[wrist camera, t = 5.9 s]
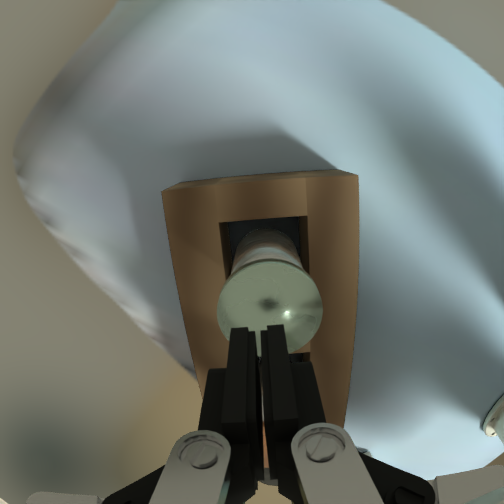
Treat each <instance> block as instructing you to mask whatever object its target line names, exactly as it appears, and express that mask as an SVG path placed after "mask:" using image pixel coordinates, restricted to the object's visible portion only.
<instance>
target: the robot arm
mask: <svg viewBox="0 0 504 504" xmlns="http://www.w3.org/2000/svg"><path fill="white" fill-rule="evenodd" d="M260 335H261V360H262V387H263V413H264V427H265V436H266V446H267V455H268V464H269V473H270V480H277V479H278V489H279V490H278V491H279V493H280V494H282V495H283V496H285V497H286V498H288V499H290V500H291V502H292V504H504V466H502V465H493V466H488V467H484V468H479V469H475V470H470V471H465V472H460V473H455V474H449V475H443V476H436V478H435V479H434V480H428V481H426V480H424V479H422V478H421V477H418V476H415V475H413V474H410V473H408V472H405V471H403V470H400V469H398V468H395V467H393V466H390V465H388V464H386V463H383V462H381V461H379V460H376V459H374V458H372V457H370V456H367V455H365V454H363V453H361V452H359V451H357V449H356V447H355V445H354V443H353V441H352V439H351V437H350V436H349V434H348V433H347V432H346V431H345V430H344V429H342V428H341V427H340V426H337V425H334V424H331V423H327V422H326V418H325V414H324V410H323V405H322V401H321V397H320V393H319V389H318V385H317V381H316V376H315V372H314V368H313V365H312V362H311V361H308V362H299V363H290V360H289V354H288V348H287V341H286V335H285V329H284V324H278V325H267V330H260ZM483 431H484V432H485V434H486V435H487V436H490V437H492V436H497V435H498V437H499V438H500V440H501V441H502V443H503V445H504V395H503V396H502V397H501V398H500V399H499V400H498V401H497V403H496V404H495V405H494V407H493V408H492V409H491V411H490V412H489V414H488V416H487V417H486V419H485V422H484V425H483ZM261 480H264V446H263V415H262V392H261V383H260V373H259V363H258V354H257V344H256V334H255V331H249V329H248V327H239V328H231V331H230V340H229V349H228V359H227V368H212V369H209V370H208V374H207V379H206V385H205V391H204V397H203V403H202V408H201V414H200V421H199V426H198V431H194V432H190V433H188V434H186V435H184V436H182V437H181V438H180V439H179V440H178V441H177V442H176V443H175V445H174V446H173V448H172V450H171V453H170V455H169V458H168V460H167V462H166V464H165V465H164V466H162V467H161V468H159V469H157V470H155V471H154V472H152V473H150V474H148V475H147V476H145V477H143V478H141V479H139V480H138V481H136V482H134V483H132V484H130V485H128V486H126V487H125V488H123V489H121V490H119V491H117V492H115V493H113V494H111V495H110V496H108V497H107V498H99V497H98V496H96V495H95V496H94V495H74V494H62V493H51V492H37V493H34V494H32V495H31V496H30V497H29V498H28V499H27V501H26V504H245V502H246V501H247V500H248V499H249V498H251V497H252V496H253V495H255V490H258V481H261Z"/></svg>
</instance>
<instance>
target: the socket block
mask: <svg viewBox="0 0 504 504" xmlns="http://www.w3.org/2000/svg"><path fill="white" fill-rule="evenodd" d="M161 192H162V199H163V206H164V213H165V220H166V226H167V233H168V239H169V245H170V251H171V257H172V262H173V268H174V273H175V279H176V284H177V289H178V294H179V299H180V304H181V309H182V314H183V319H184V323H185V328H186V333H187V337H188V342H189V346H190V350H191V355H192V359H193V363H194V367H195V371H196V375H197V379H198V383H199V387H200V391H201V395H202V399H203V397H204V391H205V385H206V379H207V374H208V370H209V369H212V368H227V359H228V349H229V341H228V340H227V338H226V337H225V336H224V334H223V333H222V331H221V329H220V327H219V324H218V320H217V304H218V300H219V296H220V292H221V289H222V287H223V285H224V283H225V281H226V280H227V279H228V277H229V276H230V275H231V271H232V266H233V263H232V254H231V245H230V237H229V228H228V222H230V221H242V220H254V219H266V218H279V217H292V216H298V218H299V237H300V260H301V264H302V267H303V269H304V270H305V271H306V272H307V273H308V274H309V275H310V277H311V278H312V279H313V281H314V282H315V284H316V286H317V289H318V291H319V294H320V297H321V300H322V305H323V314H322V320H321V323H320V326H319V328H318V330H317V332H316V333H315V335H314V336H313V337H312V339H311V340H310V341H309V342H308V343H306V344H305V345H304V346H303V347H301V348H300V349H298V350H296V351H294V352H292V353H289V354H293V353H303V362H308V361H311V362H312V365H313V368H314V372H315V376H316V381H317V385H318V389H319V393H320V397H321V401H322V405H323V410H324V414H325V418H326V422H327V423H331V424H334V425H337V426H340V427H341V428H342V429H343V428H344V421H345V415H346V408H347V401H348V394H349V386H350V378H351V369H352V360H353V350H354V339H355V326H356V312H357V295H358V272H359V182H358V175H356V174H352V173H349V172H345V171H342V170H316V171H298V172H282V173H269V174H256V175H245V176H234V177H224V178H215V179H205V180H197V181H188V182H180V183H178V184H176V185H174V186H172V187H170V188H168V189H165V190H163V191H161Z"/></svg>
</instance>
